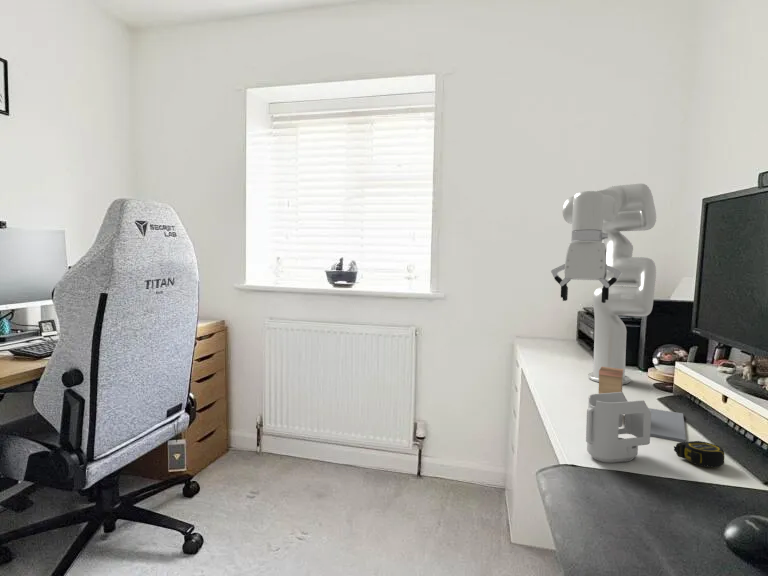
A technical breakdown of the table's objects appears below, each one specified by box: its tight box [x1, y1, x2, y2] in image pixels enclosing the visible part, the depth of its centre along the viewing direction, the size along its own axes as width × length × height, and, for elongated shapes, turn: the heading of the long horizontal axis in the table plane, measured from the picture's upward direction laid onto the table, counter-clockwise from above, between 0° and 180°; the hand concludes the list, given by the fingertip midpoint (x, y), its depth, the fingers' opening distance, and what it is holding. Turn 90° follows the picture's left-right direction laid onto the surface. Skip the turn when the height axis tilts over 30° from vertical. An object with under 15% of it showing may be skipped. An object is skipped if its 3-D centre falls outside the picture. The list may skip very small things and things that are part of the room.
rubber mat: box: [648, 407, 687, 443], centre depth 109 cm, size 20×12×1 cm, turn 147°
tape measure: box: [673, 440, 725, 468], centre depth 88 cm, size 7×7×4 cm
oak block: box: [598, 367, 624, 394], centre depth 114 cm, size 5×5×12 cm
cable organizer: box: [585, 391, 651, 464], centre depth 90 cm, size 7×13×12 cm, turn 103°
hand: (583, 301), depth 120 cm, fingers open, 9 cm apart
